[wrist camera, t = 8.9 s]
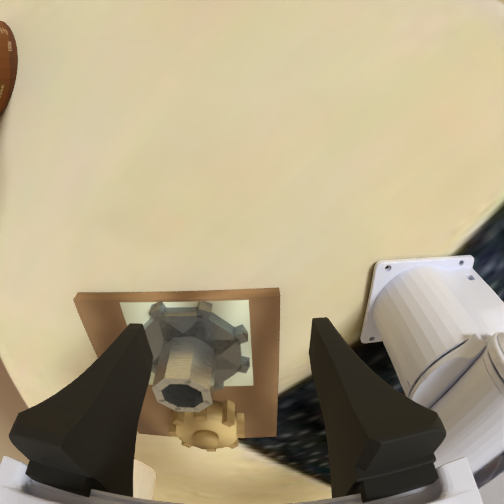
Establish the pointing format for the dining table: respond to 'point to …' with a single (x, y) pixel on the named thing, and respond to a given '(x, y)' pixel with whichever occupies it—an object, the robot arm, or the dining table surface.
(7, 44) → the food container
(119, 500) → the robot arm
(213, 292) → the carrier board
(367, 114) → the dining table surface
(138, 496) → the bottle
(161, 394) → the planet gear
